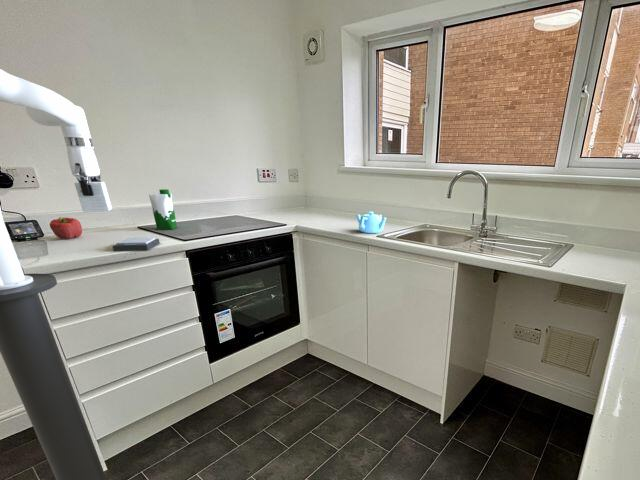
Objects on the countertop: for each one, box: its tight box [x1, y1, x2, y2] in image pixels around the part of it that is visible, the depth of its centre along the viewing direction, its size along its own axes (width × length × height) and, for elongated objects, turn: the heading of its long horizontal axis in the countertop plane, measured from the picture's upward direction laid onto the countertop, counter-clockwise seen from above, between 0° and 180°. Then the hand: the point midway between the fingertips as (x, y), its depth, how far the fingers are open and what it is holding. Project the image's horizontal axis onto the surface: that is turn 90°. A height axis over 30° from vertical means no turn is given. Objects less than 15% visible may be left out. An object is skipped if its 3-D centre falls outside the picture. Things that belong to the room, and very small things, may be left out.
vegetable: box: [49, 216, 83, 240], centre depth 156 cm, size 11×10×10 cm
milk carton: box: [148, 188, 178, 231], centre depth 183 cm, size 9×9×20 cm
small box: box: [74, 181, 113, 213], centre depth 133 cm, size 8×6×10 cm
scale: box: [112, 236, 161, 252], centre depth 147 cm, size 13×12×3 cm
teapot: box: [355, 211, 387, 234], centre depth 197 cm, size 15×15×11 cm
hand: (93, 194), depth 133 cm, fingers closed on small box, 6 cm apart
